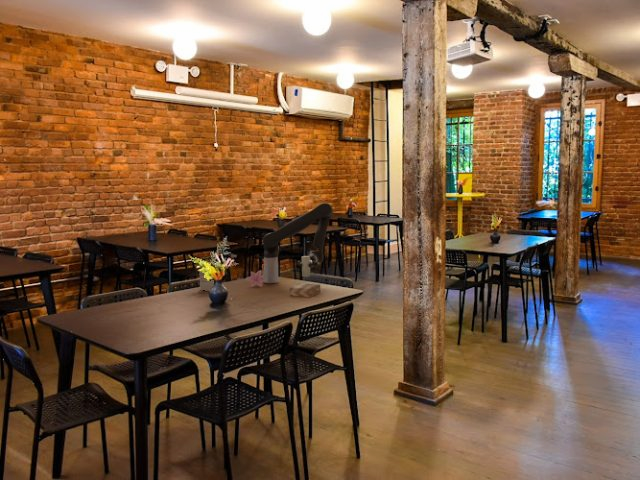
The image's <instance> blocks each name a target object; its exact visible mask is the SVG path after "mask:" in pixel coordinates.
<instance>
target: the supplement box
mask: <svg viewBox="0 0 640 480" xmlns="http://www.w3.org/2000/svg"><path fill="white" fill-rule="evenodd" d="M209 263H210V264H211V263H212V262H209ZM213 284H214V280H211V281H207V280H206V279H205V278H204V274H203V273H202V272H200V271H199V290H200V291H203V290H205V291H204V292H210V291H209V289H210V287H212V286H213Z"/></svg>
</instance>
